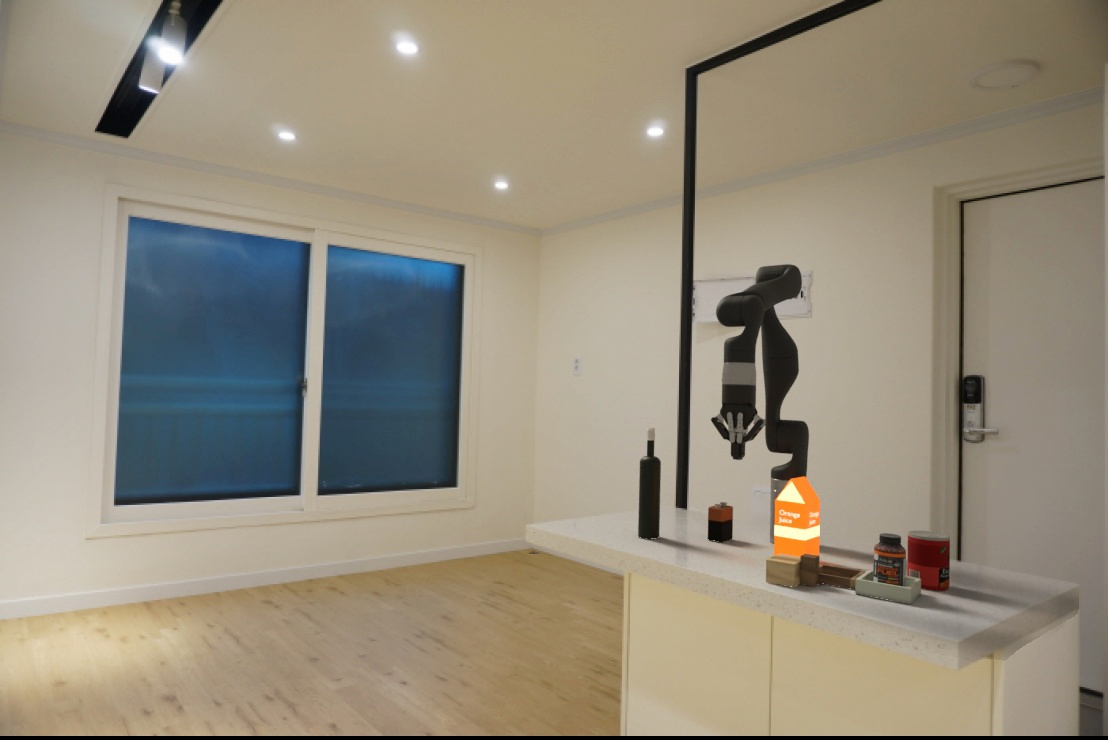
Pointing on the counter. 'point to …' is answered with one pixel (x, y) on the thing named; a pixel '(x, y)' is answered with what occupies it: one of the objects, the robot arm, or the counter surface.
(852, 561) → the counter surface
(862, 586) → the tray
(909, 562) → the canned food
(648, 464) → the wine bottle
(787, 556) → the natural wood cube
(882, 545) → the supplement bottle
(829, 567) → the frame
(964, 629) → the counter surface
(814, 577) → the post
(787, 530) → the orange juice
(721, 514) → the battery
